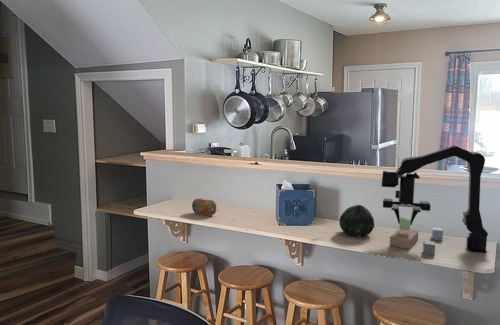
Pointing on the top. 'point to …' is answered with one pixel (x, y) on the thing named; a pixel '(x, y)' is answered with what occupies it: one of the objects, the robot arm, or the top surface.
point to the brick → (404, 238)
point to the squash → (357, 221)
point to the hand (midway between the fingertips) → (404, 224)
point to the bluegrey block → (437, 233)
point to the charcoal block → (429, 248)
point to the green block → (404, 223)
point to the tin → (204, 207)
